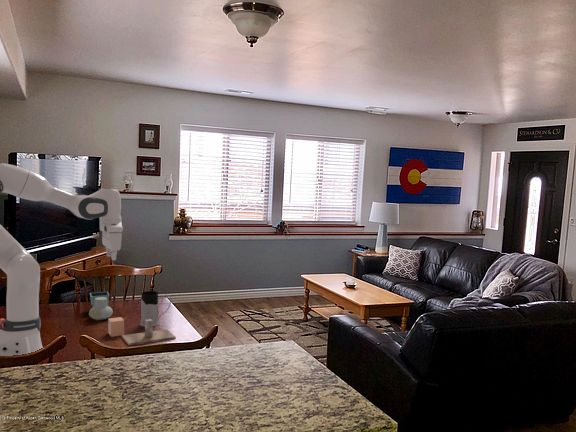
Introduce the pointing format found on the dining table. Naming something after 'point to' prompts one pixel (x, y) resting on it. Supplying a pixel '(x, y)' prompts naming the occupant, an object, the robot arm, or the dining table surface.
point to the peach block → (115, 326)
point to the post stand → (148, 335)
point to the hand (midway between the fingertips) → (111, 258)
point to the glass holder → (150, 307)
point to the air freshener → (100, 309)
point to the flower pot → (98, 294)
